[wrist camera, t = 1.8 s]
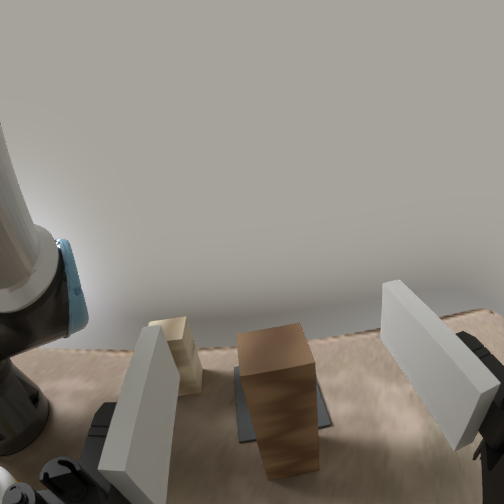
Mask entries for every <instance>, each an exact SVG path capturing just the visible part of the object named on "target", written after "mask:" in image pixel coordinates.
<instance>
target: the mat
mask: <svg viewBox="0 0 504 504" xmlns="http://www.w3.org/2000/svg"><path fill="white" fill-rule="evenodd" d="M234 374H235V390H236V406H237V421H238V435H239V443H241V442H248V441H255V440H257V439H256V436H255V432H254V428H253V425H252V421H251V417H250V413H249V410H248V406H247V402H246V398H245V394H244V390H243V387H242V383H241V379H240V371H239V366H237V367H234ZM316 389H317V411H318V428H322V427H327V426H331V423H330V420H329V417H328V414H327V411H326V408H325V406H324V403H323V400H322V397H321V394H320V391H319V389H318V386H317V383H316Z"/></svg>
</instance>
